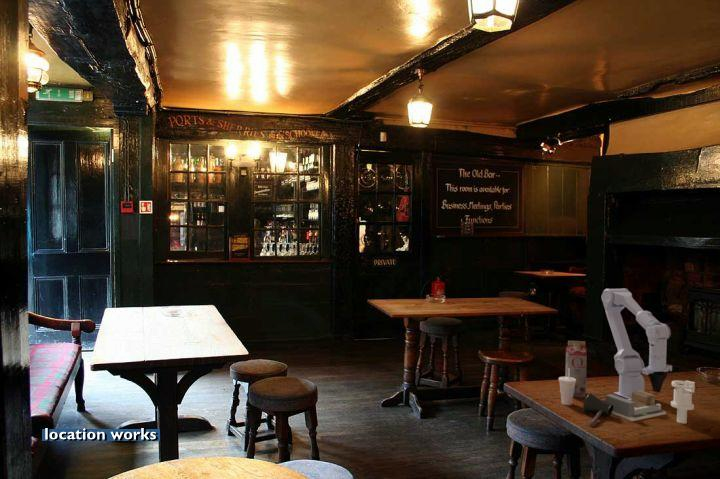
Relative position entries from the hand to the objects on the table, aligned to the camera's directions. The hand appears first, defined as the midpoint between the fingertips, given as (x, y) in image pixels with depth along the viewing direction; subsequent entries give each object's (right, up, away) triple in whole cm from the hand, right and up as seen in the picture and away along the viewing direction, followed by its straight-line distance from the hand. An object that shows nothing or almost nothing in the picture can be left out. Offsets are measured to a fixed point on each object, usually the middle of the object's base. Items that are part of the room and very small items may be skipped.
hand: (656, 391), depth 208 cm
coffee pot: (-30, -7, -12) cm, 33 cm away
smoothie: (-33, -6, +3) cm, 34 cm away
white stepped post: (+1, -7, -15) cm, 16 cm away
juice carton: (-25, -6, +15) cm, 30 cm away
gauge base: (-11, -6, -5) cm, 14 cm away
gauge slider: (-6, -5, -4) cm, 9 cm away
